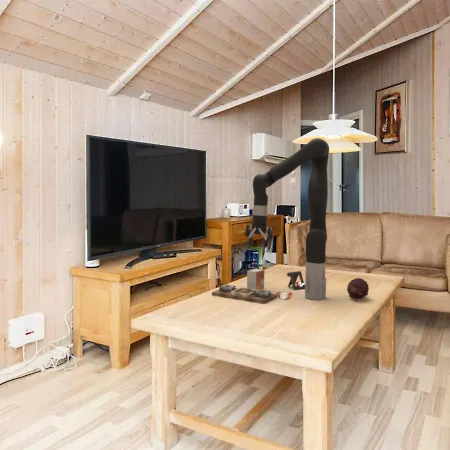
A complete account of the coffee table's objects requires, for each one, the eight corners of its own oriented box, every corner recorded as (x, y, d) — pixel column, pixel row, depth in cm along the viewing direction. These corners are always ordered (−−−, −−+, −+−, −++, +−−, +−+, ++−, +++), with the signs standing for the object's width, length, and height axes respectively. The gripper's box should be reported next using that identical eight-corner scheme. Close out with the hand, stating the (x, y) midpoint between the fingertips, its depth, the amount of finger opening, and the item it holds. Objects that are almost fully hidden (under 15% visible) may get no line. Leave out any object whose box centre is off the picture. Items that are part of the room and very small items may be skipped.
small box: (255, 292, 212) (256, 271, 211) (246, 291, 215) (246, 270, 214) (264, 290, 218) (264, 269, 217) (255, 288, 222) (255, 268, 221)
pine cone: (347, 293, 214) (348, 274, 213) (368, 295, 211) (369, 275, 210) (345, 301, 197) (346, 280, 197) (368, 304, 194) (369, 282, 193)
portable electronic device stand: (295, 290, 219) (296, 274, 218) (284, 287, 225) (285, 271, 225) (307, 288, 224) (307, 272, 223) (296, 285, 230) (297, 270, 230)
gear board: (277, 297, 203) (277, 288, 203) (264, 303, 191) (265, 294, 191) (226, 289, 217) (226, 281, 217) (211, 295, 205) (212, 286, 205)
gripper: (276, 215, 212) (274, 247, 214) (251, 213, 220) (249, 244, 222) (269, 215, 206) (267, 248, 208) (244, 213, 214) (242, 245, 216)
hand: (258, 246), depth 215 cm, fingers open, 8 cm apart
